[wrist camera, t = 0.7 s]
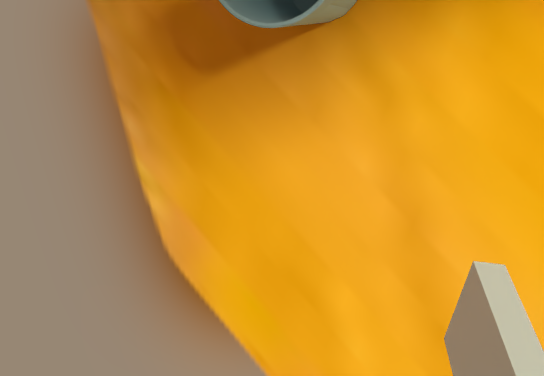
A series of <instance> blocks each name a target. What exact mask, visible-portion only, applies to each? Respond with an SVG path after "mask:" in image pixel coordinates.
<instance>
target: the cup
mask: <svg viewBox="0 0 544 376" xmlns="http://www.w3.org/2000/svg"><path fill="white" fill-rule="evenodd" d="M219 1H220V2H221V4H222V5H223V6H224V7H225V8H226V9H227V10H228V11H229V12H230V13H231V14H232V15H234V16H235V17H236V18H238V19H239V20H241V21H243V22H245V23H248V24H250V25H253V26H257V27H262V28H279V27H288V26H297V25H306V24H316V23H325V22H330V21H332V20H334V19H337V18H340V17H342V16H343V15H345V14H346V13H347V12H348V11H349V9H350V8H351V7H352V6H353V5H354V4H355V3H356V1H357V0H219Z"/></svg>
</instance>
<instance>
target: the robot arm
mask: <svg viewBox="0 0 544 376" xmlns="http://www.w3.org/2000/svg"><path fill="white" fill-rule="evenodd" d="M444 340H445V344H446V348H447V352H448V356H449V360H450V364H451V368H452V372H453V376H544V351H543V349H542V347H541V345H540V342H539V340H538V338H537V336H536V333H535V331H534V329H533V327H532V324H531V322H530V320H529V318H528V315H527V313H526V311H525V309H524V307H523V304H522V302H521V300H520V298H519V295H518V293H517V291H516V289H515V286H514V284H513V282H512V280H511V278H510V275H509V273H508V271H507V269H506V266H505V265H501V264H493V263H485V262H476V261H473V263H472V266H471V269H470V271H469V274H468V277H467V279H466V282H465V284H464V287H463V290H462V292H461V295H460V298H459V300H458V303H457V306H456V308H455V311H454V313H453V316H452V319H451V321H450V324H449V327H448V329H447V332H446V335H445V337H444Z"/></svg>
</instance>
